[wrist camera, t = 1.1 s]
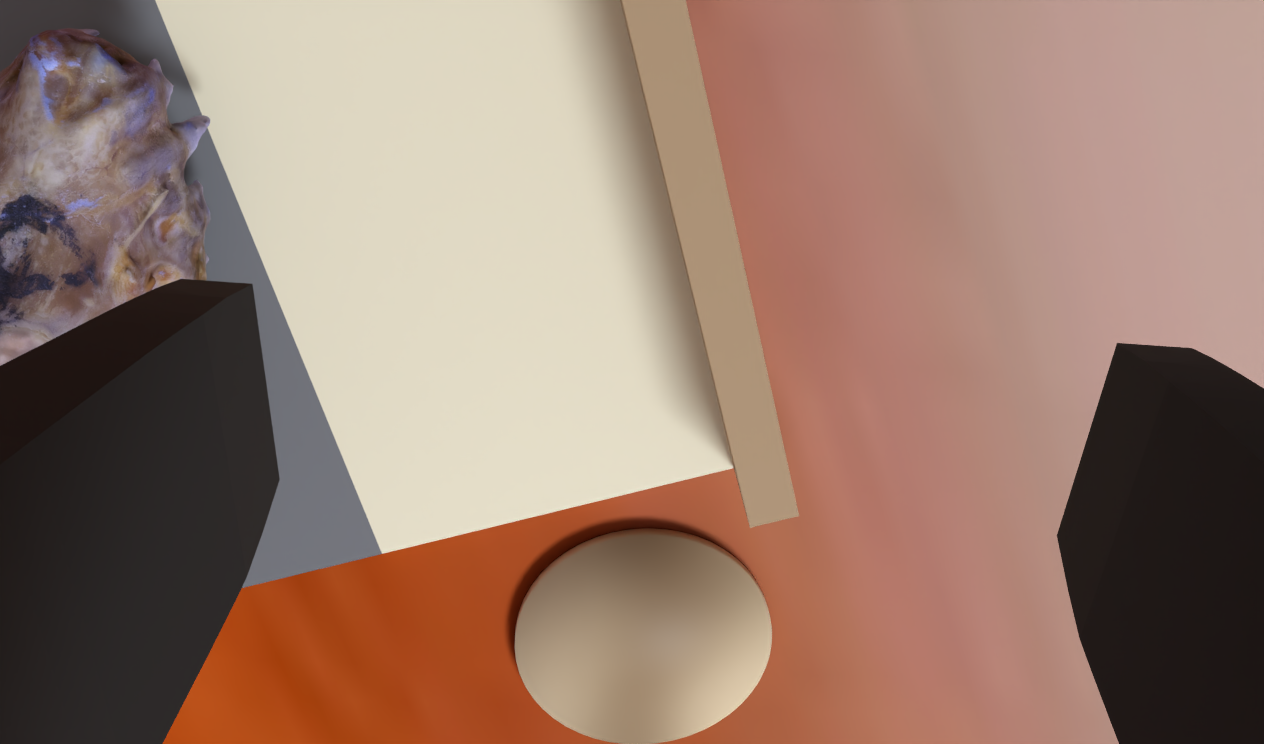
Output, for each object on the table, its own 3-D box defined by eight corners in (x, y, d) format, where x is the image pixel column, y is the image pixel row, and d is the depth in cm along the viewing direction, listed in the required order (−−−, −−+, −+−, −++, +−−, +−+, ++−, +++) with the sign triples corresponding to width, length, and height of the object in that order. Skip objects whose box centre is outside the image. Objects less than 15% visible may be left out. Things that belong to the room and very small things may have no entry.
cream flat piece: (3, 641, 27) (-51, 721, 24) (-368, 25, 21) (-487, 50, 18) (776, 452, 26) (799, 515, 23) (620, -250, 20) (627, -260, 17)
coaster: (554, 759, 29) (554, 768, 29) (482, 563, 26) (481, 571, 26) (791, 704, 29) (793, 712, 28) (741, 501, 26) (743, 508, 26)
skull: (-1, -69, 20) (-213, -28, 15) (392, 169, 22) (337, 283, 17) (-226, 448, 24) (-460, 634, 19) (128, 609, 26) (13, 819, 21)
